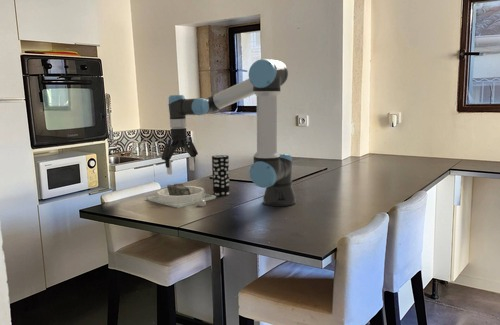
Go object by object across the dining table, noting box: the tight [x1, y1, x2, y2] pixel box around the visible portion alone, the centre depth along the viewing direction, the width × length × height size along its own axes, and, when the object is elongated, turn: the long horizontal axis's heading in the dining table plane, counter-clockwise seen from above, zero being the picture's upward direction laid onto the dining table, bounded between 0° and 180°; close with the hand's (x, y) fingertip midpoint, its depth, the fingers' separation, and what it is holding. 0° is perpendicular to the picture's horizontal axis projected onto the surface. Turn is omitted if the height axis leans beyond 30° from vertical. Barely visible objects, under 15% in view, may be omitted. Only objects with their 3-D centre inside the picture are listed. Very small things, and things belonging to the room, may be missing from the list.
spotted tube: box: [211, 154, 231, 197], centre depth 229 cm, size 8×8×20 cm
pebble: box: [197, 199, 207, 208], centre depth 208 cm, size 4×4×4 cm
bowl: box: [156, 185, 206, 205], centre depth 222 cm, size 22×22×4 cm
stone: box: [166, 183, 191, 196], centre depth 222 cm, size 14×7×10 cm, turn 52°
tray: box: [146, 193, 217, 209], centre depth 222 cm, size 24×23×2 cm
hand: (181, 172), depth 220 cm, fingers open, 13 cm apart
